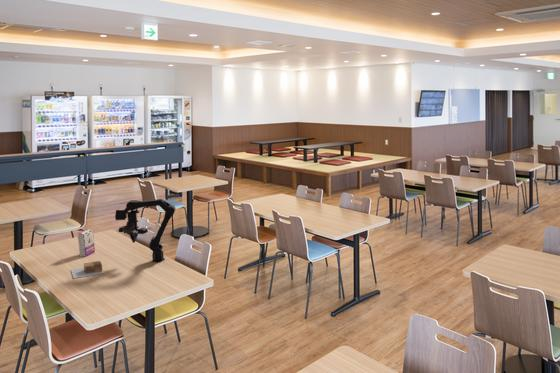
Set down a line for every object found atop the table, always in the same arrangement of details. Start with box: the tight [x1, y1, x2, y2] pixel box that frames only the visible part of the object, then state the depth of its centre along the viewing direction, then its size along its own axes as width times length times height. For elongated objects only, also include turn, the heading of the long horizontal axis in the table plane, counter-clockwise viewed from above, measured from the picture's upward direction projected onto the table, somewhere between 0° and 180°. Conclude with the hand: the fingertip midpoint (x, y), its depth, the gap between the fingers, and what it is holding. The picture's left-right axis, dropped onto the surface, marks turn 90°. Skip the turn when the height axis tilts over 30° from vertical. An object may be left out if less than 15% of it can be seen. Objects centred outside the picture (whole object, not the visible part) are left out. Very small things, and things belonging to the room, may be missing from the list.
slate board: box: [70, 267, 102, 279], centre depth 302 cm, size 16×16×1 cm
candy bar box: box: [77, 229, 96, 258], centre depth 336 cm, size 11×5×16 cm, turn 168°
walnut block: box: [83, 260, 103, 274], centre depth 304 cm, size 4×7×10 cm
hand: (133, 242), depth 319 cm, fingers closed
